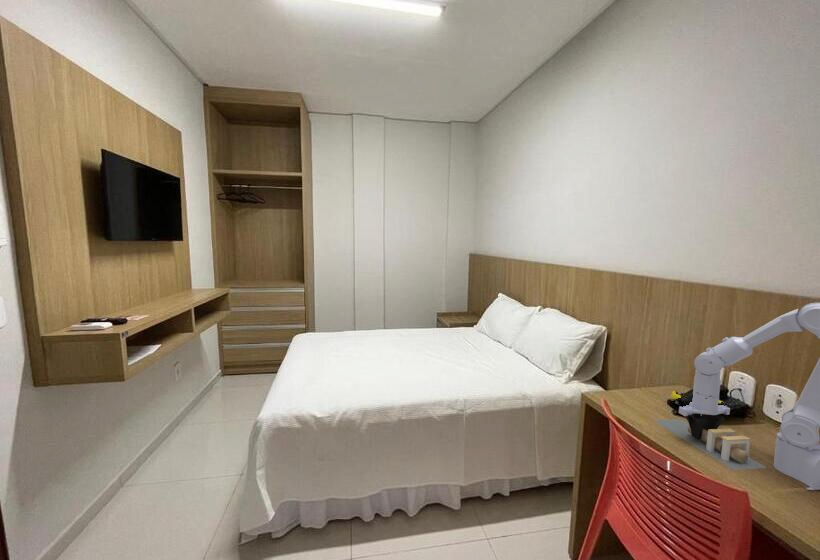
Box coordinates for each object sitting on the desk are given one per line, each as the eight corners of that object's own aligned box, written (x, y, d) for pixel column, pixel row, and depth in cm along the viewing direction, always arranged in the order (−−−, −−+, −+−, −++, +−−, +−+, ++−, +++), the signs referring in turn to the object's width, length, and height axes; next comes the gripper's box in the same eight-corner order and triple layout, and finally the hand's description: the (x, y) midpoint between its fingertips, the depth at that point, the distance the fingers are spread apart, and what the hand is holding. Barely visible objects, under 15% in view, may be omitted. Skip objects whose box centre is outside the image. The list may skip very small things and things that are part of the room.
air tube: (747, 462, 87) (749, 450, 87) (736, 463, 87) (737, 451, 87) (696, 433, 101) (697, 423, 101) (687, 434, 101) (687, 423, 101)
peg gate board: (767, 470, 86) (770, 445, 85) (733, 472, 85) (735, 447, 84) (679, 421, 110) (681, 402, 110) (652, 422, 109) (653, 402, 109)
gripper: (714, 386, 101) (710, 429, 103) (671, 388, 100) (667, 431, 101) (739, 396, 94) (734, 442, 96) (693, 398, 93) (689, 444, 94)
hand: (701, 437), depth 98 cm, fingers closed on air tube, 3 cm apart
